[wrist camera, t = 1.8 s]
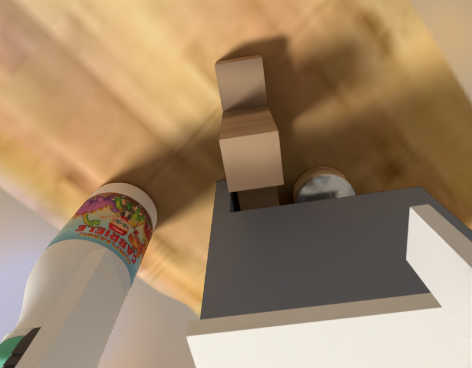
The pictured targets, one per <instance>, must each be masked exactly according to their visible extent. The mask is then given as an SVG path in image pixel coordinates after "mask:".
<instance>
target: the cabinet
mask: <svg viewBox="0 0 472 368" xmlns="http://www.w3.org/2000/svg"><path fill="white" fill-rule="evenodd" d="M426 204H429V205H430V206H431V207H432V208H434V209H435V210H436V211H437V212H438V213H439V214H440V215H442V216H443V217H444V218H445V219H446V220H447V221H448V222H449V223H451V224H452V225H453V226H454V227H455V228H456V229H457V230H459V231H460V232H461V233H462V234H463V235H464V236H465V237H466V238H468V239H469V240H470V241H471V242H472V230H470V229H469V228H468V227H467V226H466V225H465V224H463V223H462V222H461V221H460V220H459V219H458V218H457V217H455V216H454V215H453V214H452V213H451V212H450V211H448V210H447V209H446V208H445V207H444V206H443V205H441V204H440V203H439V202H438V201H437V200H436V199H435V198H433V197H432V196H431V195H430V194H429V193H428V192H426V191H425V190H424V189H423V188H422V187H421V186H419V187H412V188H405V189H397V190H390V191H383V192H376V193H368V194H361V195H354V196H347V197H340V198H332V199H325V200H318V201H311V202H303V203H296V204H289V205H282V206H275V207H267V208H260V209H253V210H246V211H238V212H236V207H235V201H234V196H233V192H229V191H228V186H227V180H224V181H217V184H216V192H215V201H214V209H213V217H212V225H211V234H210V242H209V250H208V259H207V267H206V275H205V284H204V292H203V300H202V308H201V317H200V320H194V321H189V322H188V328H187V334H186V338H187V341H188V344H189V347H190V350H191V353H192V356H193V359H194V362H195V366H196V368H472V346H471V344H470V343H469V342H468V340H467V339H466V338H465V337H464V335H463V334H462V333H461V331H460V330H459V329H458V327H457V326H456V325H455V323H454V322H453V321H452V319H451V318H450V317H449V315H448V314H447V313H446V311H445V310H444V309H443V307H442V306H441V305H440V304H439V302H438V301H437V300H436V298H435V297H434V296H433V294H432V293H431V292H430V290H429V289H428V288H427V286H426V285H425V284H424V282H423V281H422V280H421V278H420V277H419V276H418V274H417V273H416V272H415V271H414V269H413V268H412V267H411V265H410V264H409V263H408V261H407V260H406V254H407V240H408V226H409V212H410V207H411V206H419V205H426Z"/></svg>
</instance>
